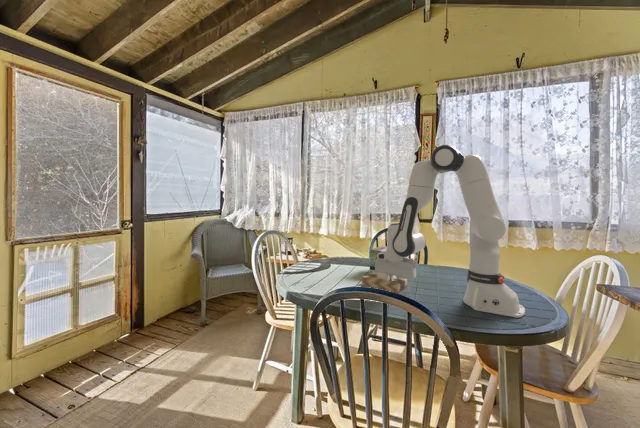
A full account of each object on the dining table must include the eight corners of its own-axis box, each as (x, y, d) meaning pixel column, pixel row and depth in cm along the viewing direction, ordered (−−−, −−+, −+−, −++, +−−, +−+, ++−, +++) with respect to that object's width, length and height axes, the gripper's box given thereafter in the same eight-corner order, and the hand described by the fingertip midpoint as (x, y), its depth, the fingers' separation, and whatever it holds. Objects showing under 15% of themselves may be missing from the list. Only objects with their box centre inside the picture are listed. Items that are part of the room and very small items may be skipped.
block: (389, 285, 151) (389, 271, 150) (385, 287, 147) (385, 273, 146) (381, 283, 153) (381, 270, 153) (377, 285, 150) (377, 272, 149)
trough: (407, 287, 148) (407, 279, 148) (397, 293, 140) (397, 285, 139) (373, 279, 160) (373, 272, 160) (361, 284, 151) (362, 276, 151)
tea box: (385, 278, 162) (386, 251, 161) (368, 275, 168) (369, 249, 167) (396, 272, 174) (397, 247, 173) (380, 269, 180) (381, 245, 179)
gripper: (419, 258, 141) (417, 286, 142) (379, 251, 154) (379, 278, 155) (413, 260, 136) (412, 290, 137) (373, 254, 149) (373, 281, 150)
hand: (394, 283), depth 146 cm, fingers closed
